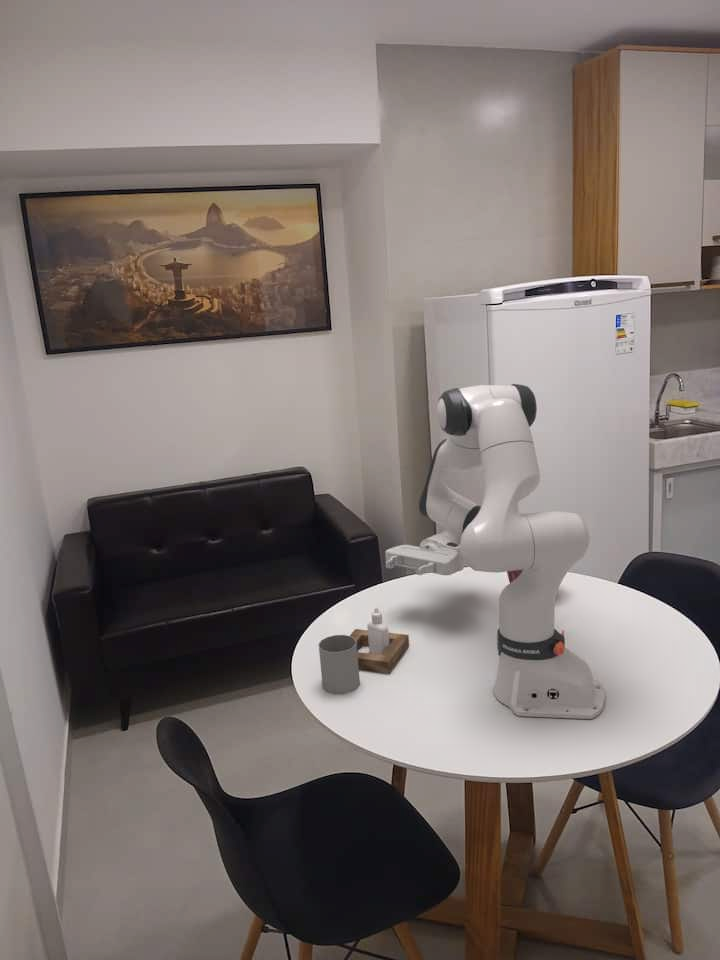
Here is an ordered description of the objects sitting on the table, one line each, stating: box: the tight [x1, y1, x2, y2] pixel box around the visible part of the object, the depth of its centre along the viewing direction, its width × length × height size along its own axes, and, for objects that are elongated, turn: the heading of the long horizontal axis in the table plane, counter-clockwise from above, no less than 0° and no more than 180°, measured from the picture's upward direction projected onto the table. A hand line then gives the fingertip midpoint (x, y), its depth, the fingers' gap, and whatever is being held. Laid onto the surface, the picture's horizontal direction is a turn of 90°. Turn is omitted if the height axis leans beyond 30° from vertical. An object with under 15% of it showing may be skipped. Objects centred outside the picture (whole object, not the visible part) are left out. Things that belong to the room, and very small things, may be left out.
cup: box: [318, 634, 361, 695], centre depth 161 cm, size 8×8×10 cm
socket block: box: [349, 628, 410, 675], centre depth 174 cm, size 14×14×3 cm
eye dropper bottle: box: [367, 606, 390, 655], centre depth 173 cm, size 4×6×12 cm
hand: (402, 568), depth 180 cm, fingers open, 8 cm apart
